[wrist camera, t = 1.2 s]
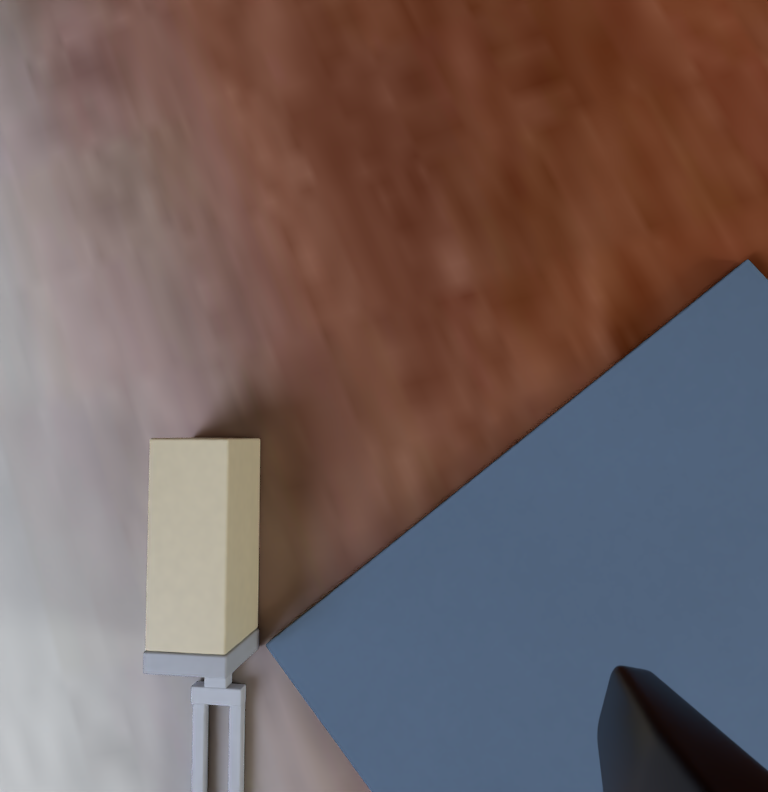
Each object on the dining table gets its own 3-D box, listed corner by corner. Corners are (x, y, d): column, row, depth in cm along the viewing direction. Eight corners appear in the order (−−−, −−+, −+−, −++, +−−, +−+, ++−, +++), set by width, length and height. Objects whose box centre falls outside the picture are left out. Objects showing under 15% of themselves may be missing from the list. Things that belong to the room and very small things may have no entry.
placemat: (566, 1051, 21) (568, 1063, 21) (268, 641, 23) (264, 645, 23) (1119, 664, 20) (1132, 669, 19) (743, 261, 22) (748, 258, 21)
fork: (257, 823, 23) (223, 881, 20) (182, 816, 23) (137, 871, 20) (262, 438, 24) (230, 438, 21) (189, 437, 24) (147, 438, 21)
